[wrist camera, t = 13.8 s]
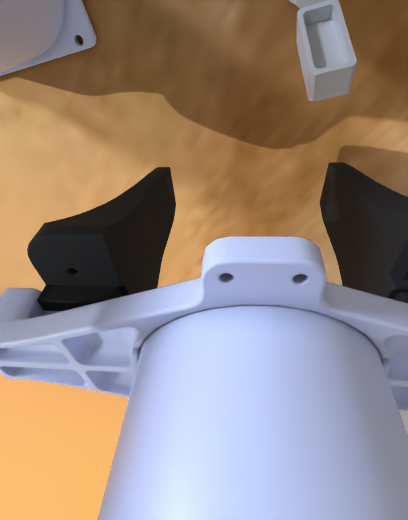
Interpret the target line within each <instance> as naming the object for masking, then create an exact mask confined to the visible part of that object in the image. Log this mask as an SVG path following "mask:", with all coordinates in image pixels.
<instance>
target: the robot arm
mask: <svg viewBox="0 0 408 520" xmlns="http://www.w3.org/2000/svg"><path fill="white" fill-rule="evenodd" d="M77 35H79V36H81V37H82V39H83V45H82V44H80V43H79V42H78V41H77ZM95 44H96V35H95V32H94V30H93V27H92V25H91V22H90V20H89V17H88V15H87V12H86V9H85V7H84V4H83V2H82V0H0V76H2V75H5V74H8V73H11V72H15V71H18V70H21V69H24V68H27V67H31V66H34V65H37V64H40V63H43V62H47V61H50V60H53V59H56V58H59V57H63V56H66V55H69V54H72V53H76V52H79V51H82V50H85V49H88V48H91V47H93V46H94V45H95ZM175 207H176V202H175V195H174V189H173V183H172V177H171V171H170V167H157V168H156V169H154V170H153V171H152V172H150V173H149V174H148V175H147V176H145V177H144V178H143V179H142V180H140V181H139V182H138V183H137V184H135V185H134V186H133V187H131V188H130V189H128V190H127V191H125V192H124V193H123V194H121V195H120V196H118V197H116V198H115V199H113V200H111V201H109V202H107V203H105V204H103V205H101V206H99V207H96V208H94V209H92V210H89V211H87V212H84V213H81V214H78V215H75V216H72V217H68V218H65V219H61V220H56V221H52V222H48V223H44V224H43V226H42V227H41V228H40V230H39V231H38V232H37V234H36V235H35V236H34V238H33V239H32V240H31V242H30V243H29V245H28V249H27V251H28V257H29V259H30V261H31V263H32V264H33V266H34V267H35V269H36V270H37V272H38V273H39V275H40V276H41V278H42V279H43V281H44V282H45V284H46V286H45V288H44V289H43V291H42V292H41V291H39V290H37V289H33V288H7V289H6V290H5V291H4V293H3V294H2V296H1V297H0V373H1V374H2V375H3V376H4V377H6V378H9V379H22V380H33V381H41V382H49V383H56V384H61V385H67V386H73V387H78V388H83V389H88V390H94V391H99V392H104V393H109V394H115V395H120V396H125V397H129V400H128V403H127V407H126V411H125V415H124V419H123V423H122V427H121V431H120V435H119V439H118V442H117V447H116V450H115V455H114V458H113V462H112V467H111V470H110V474H109V478H108V481H107V485H106V489H105V493H104V497H103V501H102V505H101V509H100V513H99V517H98V520H408V434H407V431H406V429H405V426H404V423H403V421H402V418H401V415H400V412H401V411H408V197H406V196H404V195H401V194H399V193H397V192H395V191H393V190H391V189H389V188H387V187H385V186H383V185H381V184H380V183H378V182H376V181H374V180H373V179H371V178H369V177H368V176H366V175H364V174H363V173H361V172H360V171H358V170H356V169H355V168H353V167H352V166H350V165H348V164H346V163H344V162H340V163H329V165H328V169H327V173H326V178H325V182H324V186H323V191H322V195H321V199H320V207H321V213H322V218H323V221H324V224H325V227H326V230H327V233H328V235H329V238H330V241H331V244H332V246H333V249H334V252H335V254H336V258H337V261H338V265H339V270H340V274H341V279H342V284H343V286H341V285H337V284H333V283H329V282H327V278H326V270H325V266H324V263H323V259H322V256H321V252H320V249H319V247H318V246H317V245H316V244H314V243H313V242H312V241H311V240H309V239H305V238H300V237H226V238H221V239H217V240H215V241H213V242H212V243H211V244H210V245H208V246H207V247H206V249H205V253H204V257H203V264H202V272H201V277H200V278H197V279H193V280H189V281H185V282H181V283H177V284H173V285H168V286H164V287H160V288H157V286H158V279H159V273H160V267H161V262H162V257H163V253H164V250H165V247H166V244H167V241H168V237H169V234H170V231H171V228H172V224H173V221H174V215H175Z"/></svg>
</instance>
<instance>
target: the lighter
mask: <svg viewBox="0 0 408 520" xmlns="http://www.w3.org/2000/svg"><path fill="white" fill-rule="evenodd" d="M288 1H289V2H291V3H292V4H294V5H295V6H297V7H298V8H300V10H299V11H298V12H297V33H296V43H297V48H298V53H299V58H300V63H301V68H302V73H303V77H304V82H305V87H306V92H307V97H308V100H309V101H312V102H315V101H319V100H324V99H328V98H333V97H337V96H342V95H346V94H348V92H349V91H350V90H351V85H352V81H353V77H354V72H355V68H356V64H357V60H356V57H355V53H354V50H353V47H352V43H351V40H350V37H349V33H348V30H347V26H346V23H345V20H344V16H343V13H342V10H341V6H340V3H339V0H288Z"/></svg>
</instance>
